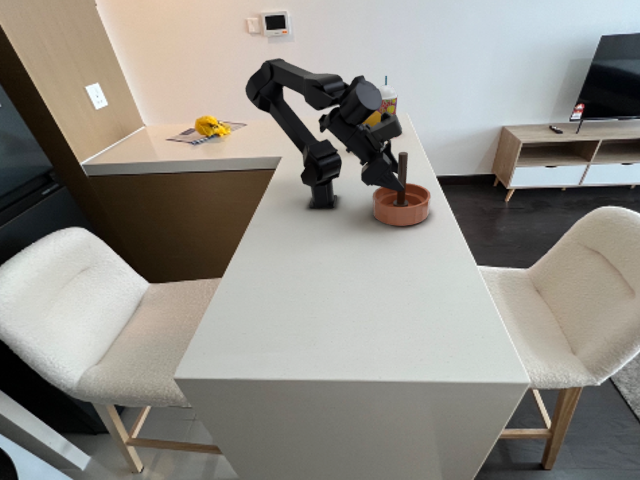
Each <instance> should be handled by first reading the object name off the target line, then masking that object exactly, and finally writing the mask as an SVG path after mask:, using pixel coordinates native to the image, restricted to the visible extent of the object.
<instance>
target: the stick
mask: <svg viewBox="0 0 640 480" xmlns="http://www.w3.org/2000/svg"><path fill="white" fill-rule="evenodd" d="M408 158H409V153H408V151H400V152H398V155H397V159H398V160H397V162H398V174H397V179H398V180H399V181H400V183H401V184H402V185H403V187H404V190H403V191H402V192H398V191H397V200H395V201H394V202H393V206H394V207H408V204H409V202H408V201H407V200H405V196H406V183H407V177H408Z"/></svg>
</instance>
